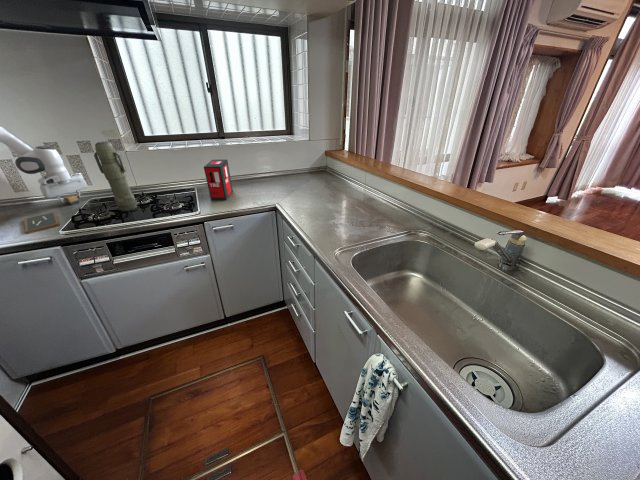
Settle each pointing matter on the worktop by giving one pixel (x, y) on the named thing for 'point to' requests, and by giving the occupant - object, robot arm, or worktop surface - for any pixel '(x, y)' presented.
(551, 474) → the worktop surface
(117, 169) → the thermos
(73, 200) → the eraser
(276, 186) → the worktop surface
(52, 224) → the board
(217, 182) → the cleaning product box
